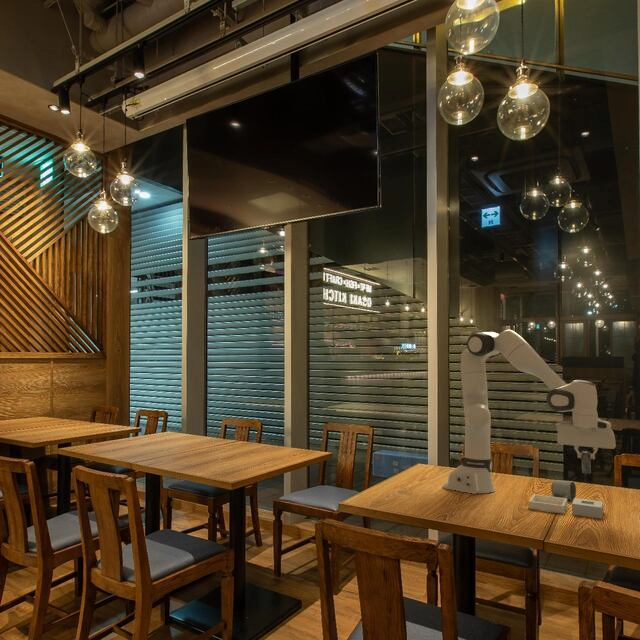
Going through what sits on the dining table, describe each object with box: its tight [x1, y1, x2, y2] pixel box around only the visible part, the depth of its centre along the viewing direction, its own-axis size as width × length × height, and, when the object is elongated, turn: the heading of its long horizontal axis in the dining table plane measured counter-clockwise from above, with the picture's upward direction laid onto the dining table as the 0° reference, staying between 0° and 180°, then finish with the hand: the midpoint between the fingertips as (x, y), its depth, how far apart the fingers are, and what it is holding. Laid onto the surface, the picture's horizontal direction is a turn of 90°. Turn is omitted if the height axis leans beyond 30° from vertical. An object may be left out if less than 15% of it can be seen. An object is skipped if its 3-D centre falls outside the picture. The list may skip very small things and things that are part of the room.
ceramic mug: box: [550, 479, 577, 501], centre depth 219 cm, size 11×8×8 cm
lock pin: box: [581, 450, 592, 475], centre depth 200 cm, size 3×3×8 cm
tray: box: [528, 493, 569, 515], centre depth 206 cm, size 13×13×3 cm
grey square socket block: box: [571, 497, 604, 520], centre depth 199 cm, size 10×10×4 cm
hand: (586, 458), depth 200 cm, fingers closed on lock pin, 3 cm apart
